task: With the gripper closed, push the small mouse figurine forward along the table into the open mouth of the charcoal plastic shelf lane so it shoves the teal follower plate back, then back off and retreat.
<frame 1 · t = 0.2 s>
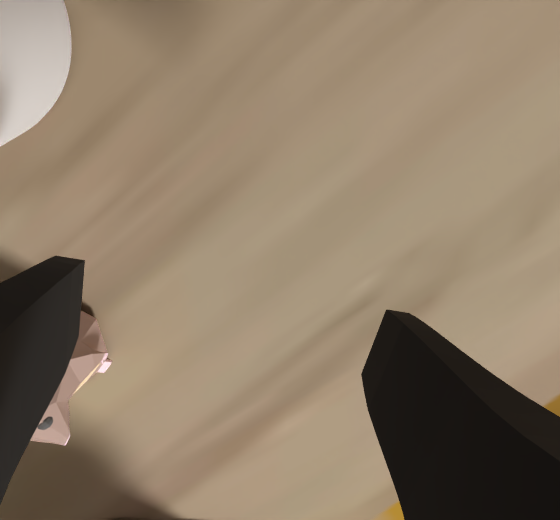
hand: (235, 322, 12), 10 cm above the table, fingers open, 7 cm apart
mouse figurine: (37, 316, 22), on the table
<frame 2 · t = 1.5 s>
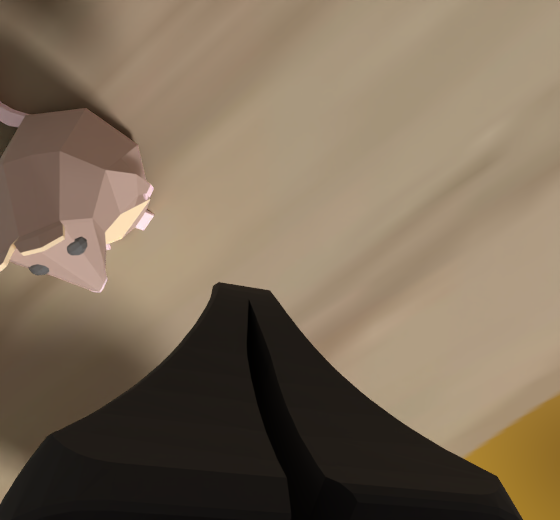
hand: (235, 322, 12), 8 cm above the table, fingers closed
mouse figurine: (60, 147, 17), on the table
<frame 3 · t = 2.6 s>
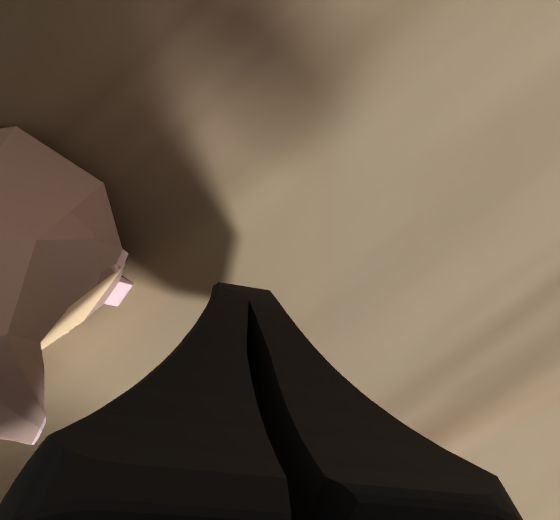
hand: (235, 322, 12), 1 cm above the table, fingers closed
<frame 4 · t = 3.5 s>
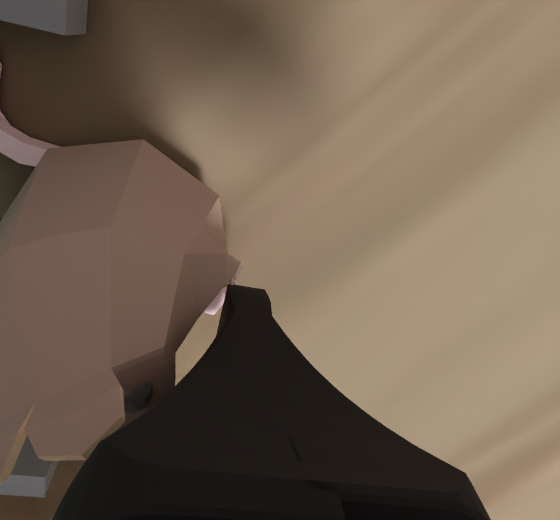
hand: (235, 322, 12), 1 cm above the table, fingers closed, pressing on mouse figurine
mouse figurine: (98, 194, 11), on the table, touching gripper
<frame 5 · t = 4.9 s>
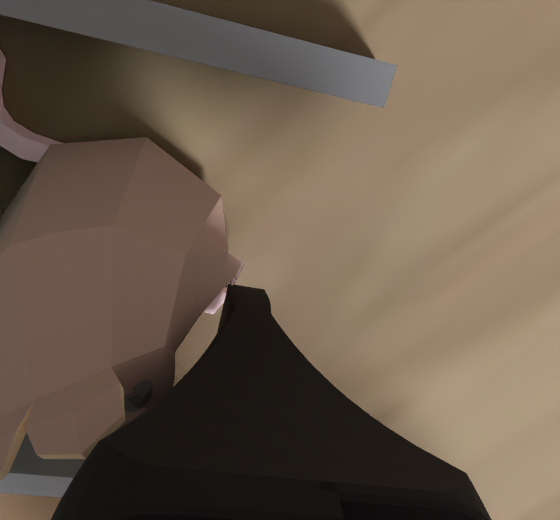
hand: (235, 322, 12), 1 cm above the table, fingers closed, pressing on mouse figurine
lane: (67, 270, 12), on the table
mouse figurine: (99, 191, 11), on the table, touching gripper, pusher
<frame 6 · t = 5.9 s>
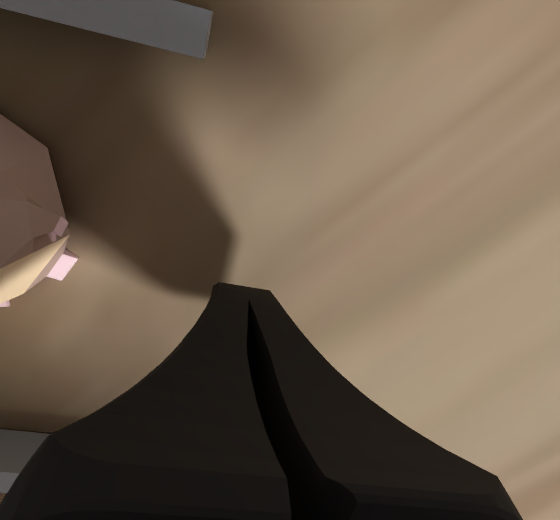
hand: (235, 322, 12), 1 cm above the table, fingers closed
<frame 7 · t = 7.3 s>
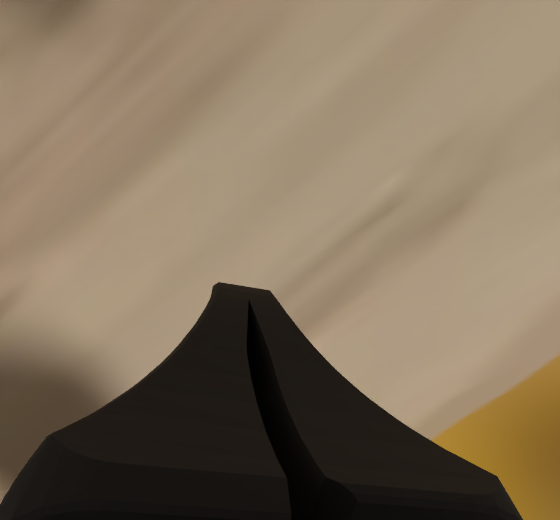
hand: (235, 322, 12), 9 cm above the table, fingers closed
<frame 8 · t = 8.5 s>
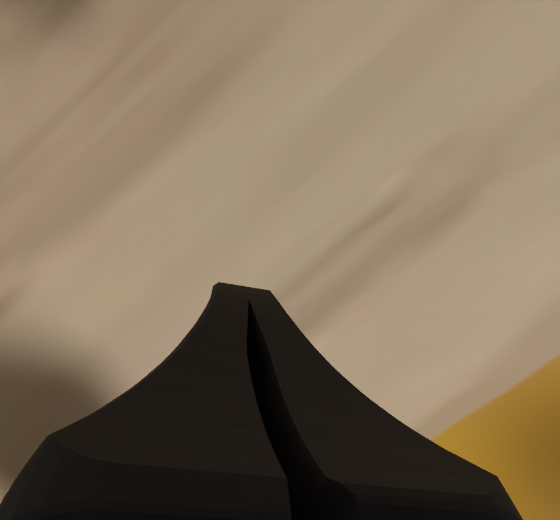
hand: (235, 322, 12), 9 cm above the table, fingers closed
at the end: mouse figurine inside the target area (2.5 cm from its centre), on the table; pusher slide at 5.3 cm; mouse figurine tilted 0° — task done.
